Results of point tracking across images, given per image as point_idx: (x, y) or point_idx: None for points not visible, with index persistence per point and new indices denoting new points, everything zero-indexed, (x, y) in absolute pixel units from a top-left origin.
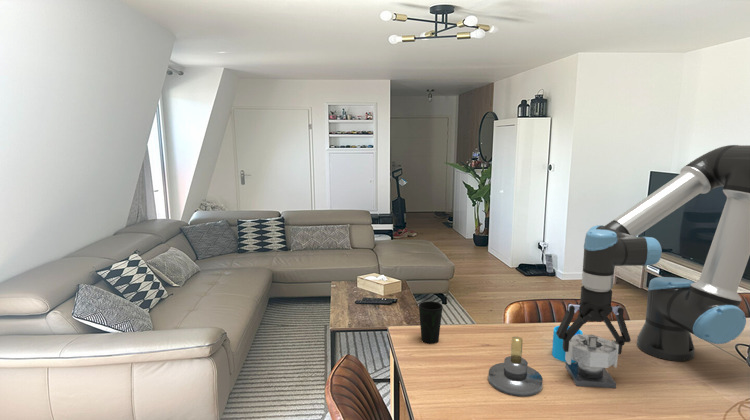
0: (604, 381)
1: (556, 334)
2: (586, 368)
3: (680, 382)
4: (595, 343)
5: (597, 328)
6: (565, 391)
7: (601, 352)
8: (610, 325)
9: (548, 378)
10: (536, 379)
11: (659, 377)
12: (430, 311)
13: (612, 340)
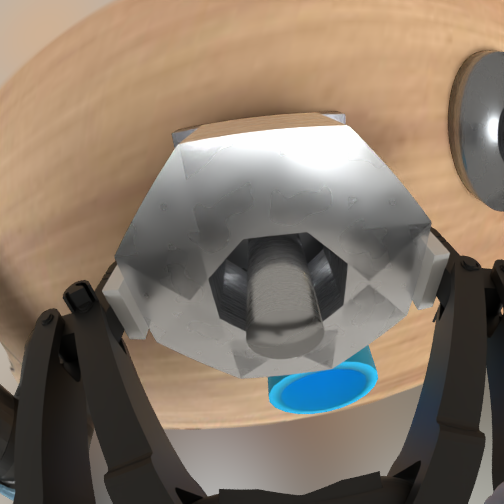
0: None
1: (374, 365)
2: None
3: (21, 238)
4: (265, 280)
5: (197, 416)
6: (385, 68)
7: (244, 144)
8: (119, 440)
9: (420, 155)
10: (480, 106)
11: (56, 251)
12: None
13: (142, 336)
